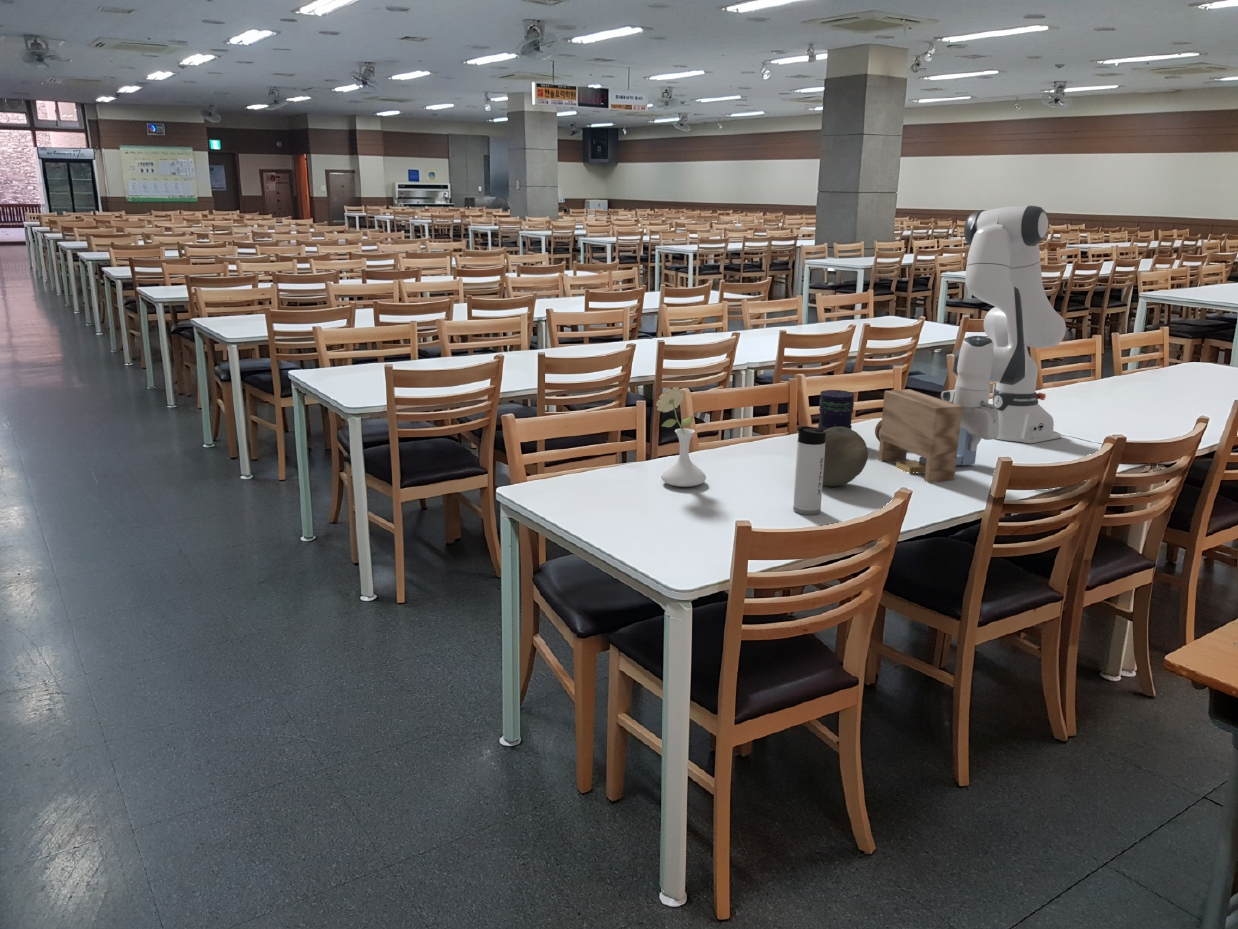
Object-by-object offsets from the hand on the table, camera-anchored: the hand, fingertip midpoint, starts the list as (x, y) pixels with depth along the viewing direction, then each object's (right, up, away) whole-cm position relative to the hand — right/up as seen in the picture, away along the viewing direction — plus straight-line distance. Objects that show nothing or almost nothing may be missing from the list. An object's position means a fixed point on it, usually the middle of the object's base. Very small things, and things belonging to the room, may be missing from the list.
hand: (965, 447), depth 251 cm
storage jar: (-30, +2, +23) cm, 38 cm away
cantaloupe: (-39, -10, -17) cm, 44 cm away
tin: (-11, +1, +20) cm, 23 cm away
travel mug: (-51, -15, -36) cm, 64 cm away
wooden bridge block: (-15, -6, -3) cm, 16 cm away
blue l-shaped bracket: (-5, -4, -1) cm, 7 cm away
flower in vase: (-79, -10, -17) cm, 81 cm away
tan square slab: (-16, -6, -4) cm, 17 cm away
